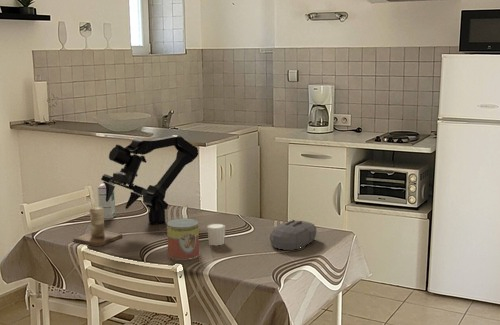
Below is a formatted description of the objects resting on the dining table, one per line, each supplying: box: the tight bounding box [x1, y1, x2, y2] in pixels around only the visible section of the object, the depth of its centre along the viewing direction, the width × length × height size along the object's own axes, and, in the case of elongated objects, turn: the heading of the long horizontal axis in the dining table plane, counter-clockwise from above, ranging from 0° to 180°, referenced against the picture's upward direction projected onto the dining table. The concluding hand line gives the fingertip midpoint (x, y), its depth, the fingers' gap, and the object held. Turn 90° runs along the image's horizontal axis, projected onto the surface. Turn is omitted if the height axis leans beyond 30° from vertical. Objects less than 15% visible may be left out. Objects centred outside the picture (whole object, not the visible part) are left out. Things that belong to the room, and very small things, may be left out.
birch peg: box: [89, 206, 106, 238], centre depth 241 cm, size 5×5×11 cm
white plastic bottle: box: [97, 183, 117, 220], centre depth 272 cm, size 6×6×14 cm
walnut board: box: [73, 230, 123, 247], centre depth 242 cm, size 13×13×1 cm
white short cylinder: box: [206, 223, 226, 246], centre depth 235 cm, size 7×7×7 cm
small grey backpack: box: [269, 219, 318, 251], centre depth 234 cm, size 15×8×20 cm
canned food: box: [166, 217, 200, 261], centre depth 222 cm, size 11×11×12 cm
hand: (116, 205), depth 249 cm, fingers open, 9 cm apart
